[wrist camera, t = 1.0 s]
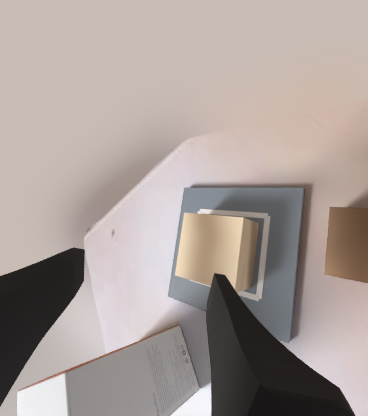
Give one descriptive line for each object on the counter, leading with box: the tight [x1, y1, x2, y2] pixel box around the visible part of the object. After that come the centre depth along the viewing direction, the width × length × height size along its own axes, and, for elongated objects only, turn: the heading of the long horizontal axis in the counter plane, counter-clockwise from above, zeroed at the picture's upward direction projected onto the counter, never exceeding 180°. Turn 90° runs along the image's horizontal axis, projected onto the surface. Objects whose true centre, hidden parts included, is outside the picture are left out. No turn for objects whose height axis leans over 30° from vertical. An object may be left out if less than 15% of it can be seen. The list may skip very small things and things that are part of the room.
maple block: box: [175, 213, 259, 292], centre depth 21 cm, size 6×6×4 cm
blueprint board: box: [168, 188, 305, 343], centre depth 23 cm, size 13×13×1 cm
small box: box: [17, 325, 199, 416], centre depth 20 cm, size 8×6×13 cm
